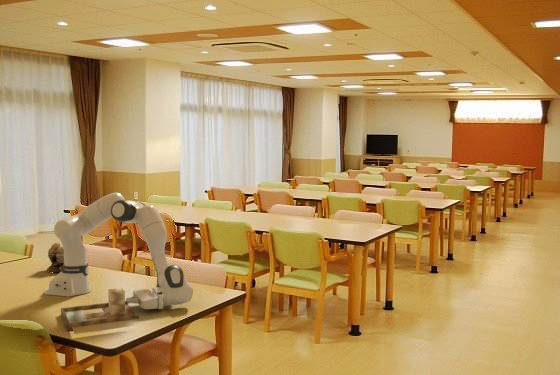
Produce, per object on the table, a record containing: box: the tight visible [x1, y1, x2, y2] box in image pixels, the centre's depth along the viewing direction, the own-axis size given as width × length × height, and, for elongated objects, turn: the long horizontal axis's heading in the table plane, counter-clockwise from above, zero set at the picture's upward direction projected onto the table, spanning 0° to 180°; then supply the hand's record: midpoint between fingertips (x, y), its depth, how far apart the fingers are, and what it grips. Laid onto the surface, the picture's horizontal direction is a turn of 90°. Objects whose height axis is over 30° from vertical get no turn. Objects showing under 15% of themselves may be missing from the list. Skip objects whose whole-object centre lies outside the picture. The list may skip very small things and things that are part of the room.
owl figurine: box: [46, 241, 64, 274], centre depth 335 cm, size 18×12×17 cm, turn 45°
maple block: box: [107, 287, 126, 315], centre depth 252 cm, size 6×6×10 cm
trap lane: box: [60, 300, 140, 332], centre depth 249 cm, size 29×24×3 cm
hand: (126, 300), depth 254 cm, fingers closed
